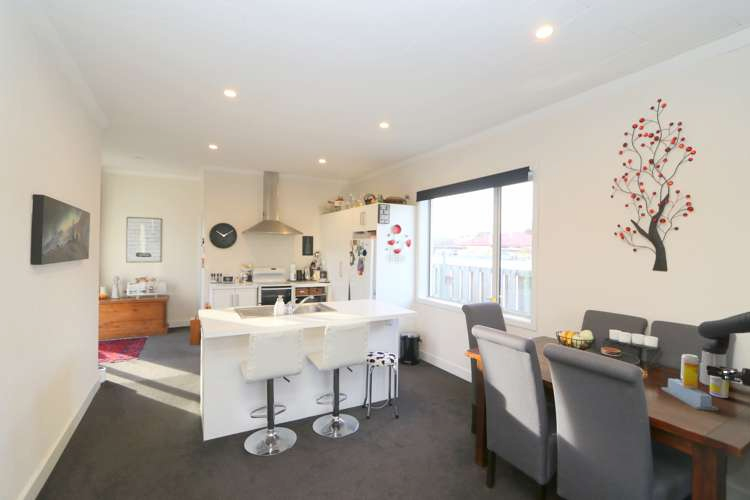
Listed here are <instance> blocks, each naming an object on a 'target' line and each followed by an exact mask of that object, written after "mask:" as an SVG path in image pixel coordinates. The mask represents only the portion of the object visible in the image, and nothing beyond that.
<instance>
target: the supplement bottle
mask: <svg viewBox="0 0 750 500" xmlns="http://www.w3.org/2000/svg"><path fill="white" fill-rule="evenodd" d="M728 378H729V377H728ZM729 383H730V381H728V380H722V379H721V378H719V377H716V376H710V386H709V395H711V396H714V397H717V398H721V399H726V398H727V399H728V397H729V390H730V389H729V387H730V384H729Z"/></svg>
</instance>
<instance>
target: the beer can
mask: <svg viewBox="0 0 750 500" xmlns="http://www.w3.org/2000/svg"><path fill="white" fill-rule="evenodd" d="M680 359H681V361H680V362H681V363H680V380H681V385H682V386H683V387H685V388H689V389H696V388H697V389H698V387H699V386H698V384H699V383H698V382H699V367H700V363H699V361H700V359H699V356H698V355H695V354H692V353H683V354H682V355H681V358H680Z"/></svg>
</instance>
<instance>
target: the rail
mask: <svg viewBox="0 0 750 500" xmlns="http://www.w3.org/2000/svg"><path fill="white" fill-rule="evenodd" d="M661 391H664V392H665V393H668V394H669V395H670V396H673V397H674V398H676V399H678V400H680V401H681V402H683V403H684V404H687V406H689V407H692V408H694V409H696V410H702V411H718V412H719V407H717V406H714V405H712V398H713V395H712V394H710V393H707V392H704V391H703V390H701V389H698V387H697V388H696V389H689V388H685V387H683V386H682V385H681V379H679V378H667V386H666V387H663V386H661Z"/></svg>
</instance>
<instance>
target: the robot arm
mask: <svg viewBox="0 0 750 500" xmlns="http://www.w3.org/2000/svg"><path fill="white" fill-rule="evenodd" d="M697 333H698V334H699V335H700V336H701V337H702V338H705V339H707V340H709V341H708V342H706V343H704V344H703V345H702V346H701V347H702V348H701V362H700V363H699V377H698V382H700V383H701V384H703V385H706V386H708V387H710V376H716V377H719V378H721V379H722V380H728V381H729V382H735V383H741V384H742V386H744V387H745V386H746V387H750V368H747V367H746V368H745V367H742V369H741V371H738V368H733V367H727V365H726V364H727V351H728V349H729V347H730V337H731V334H750V311H747V312H746V311H745V312H743V313H738V314H736V315H732V316H729V317H725V318H721V319H717V320H708V321H707V320H706V321H703V322H701V323H700V324H699V325H698V327H697ZM728 377H729V378H728Z"/></svg>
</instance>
